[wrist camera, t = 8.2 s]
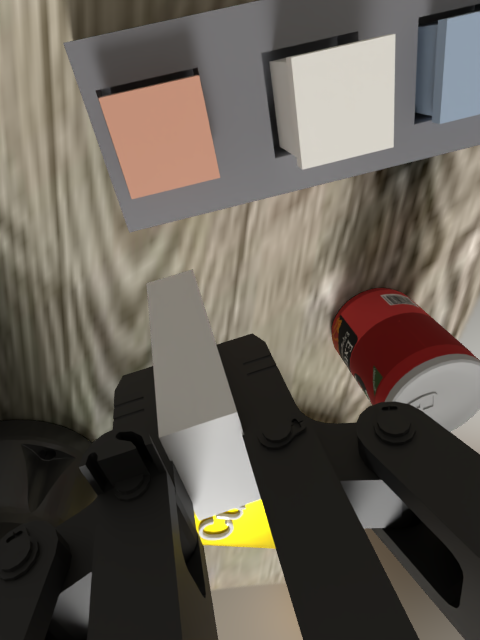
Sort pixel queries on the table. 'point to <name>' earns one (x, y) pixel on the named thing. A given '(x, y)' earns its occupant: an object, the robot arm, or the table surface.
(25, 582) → the robot arm
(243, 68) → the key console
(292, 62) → the white key
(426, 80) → the slate blue key
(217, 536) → the element tile
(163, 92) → the terracotta key
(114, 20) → the table surface
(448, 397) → the canned food
